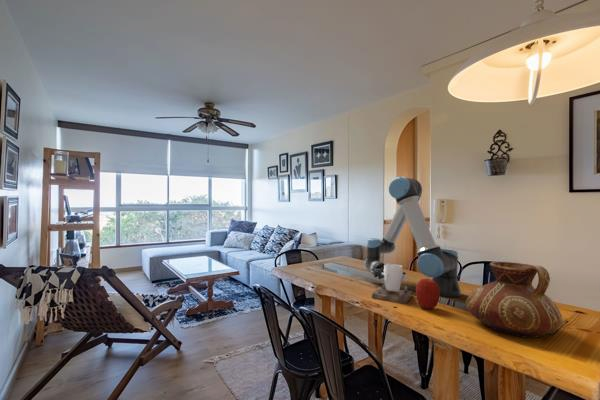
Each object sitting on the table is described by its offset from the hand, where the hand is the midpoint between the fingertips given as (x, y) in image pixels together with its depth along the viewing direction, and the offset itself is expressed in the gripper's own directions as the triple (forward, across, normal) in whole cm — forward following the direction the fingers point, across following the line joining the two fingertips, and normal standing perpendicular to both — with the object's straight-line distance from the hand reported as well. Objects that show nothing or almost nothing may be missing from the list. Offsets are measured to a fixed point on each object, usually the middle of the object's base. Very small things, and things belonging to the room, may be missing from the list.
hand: (396, 278), depth 149 cm
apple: (+13, -9, -10) cm, 18 cm away
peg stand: (-5, 0, -10) cm, 11 cm away
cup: (-5, 0, -7) cm, 8 cm away
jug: (+34, -30, -10) cm, 47 cm away
